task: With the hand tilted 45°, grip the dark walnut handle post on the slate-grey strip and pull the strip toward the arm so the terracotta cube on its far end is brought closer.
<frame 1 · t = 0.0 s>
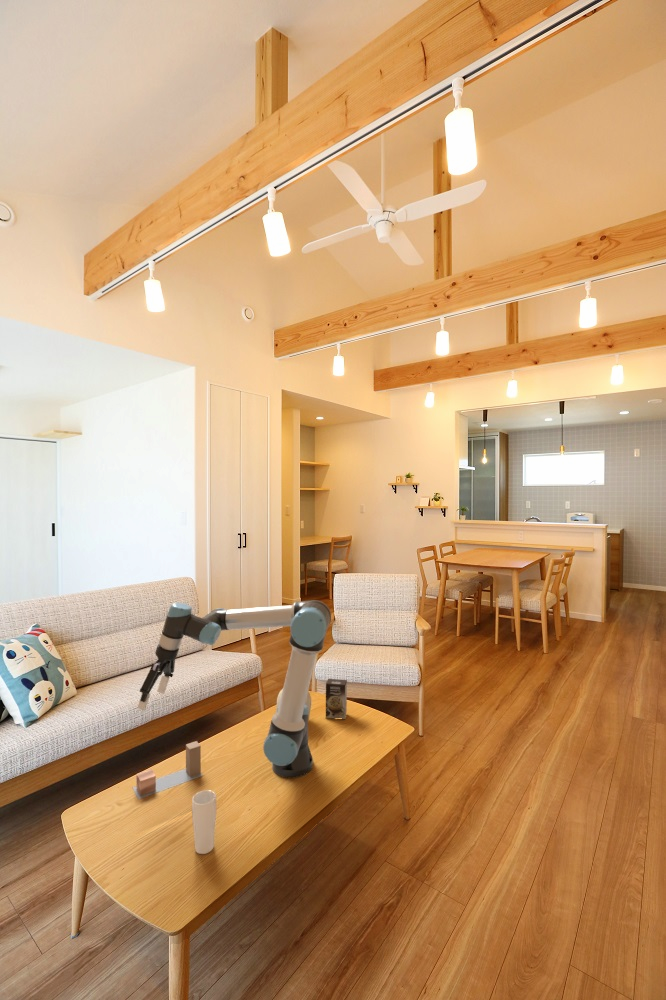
hand: (151, 700, 171), 28 cm above the table, tool tilted 20°, fingers open, 13 cm apart
coffee box: (336, 716, 217), on the table
strip: (168, 768, 167), point 6 cm above the table, slide at 0.0 cm, touching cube
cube: (146, 789, 163), point 1 cm above the table, touching strip
jug: (294, 723, 211), on the table
drinking glass: (204, 849, 137), on the table
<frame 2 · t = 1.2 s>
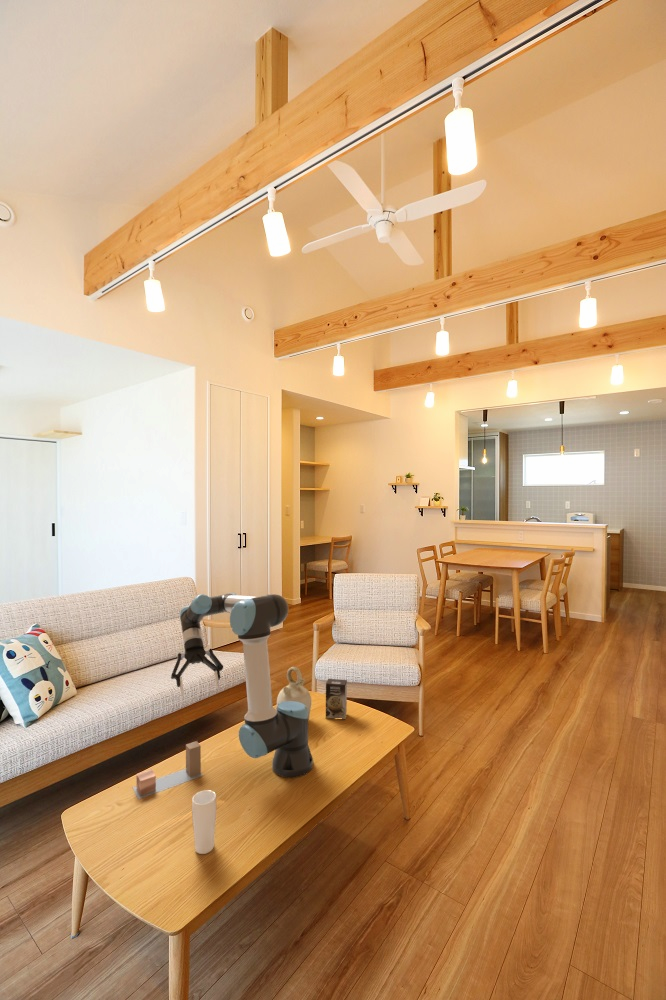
hand: (200, 691, 185), 25 cm above the table, tool tilted 45°, fingers open, 13 cm apart
nothing on the table moved.
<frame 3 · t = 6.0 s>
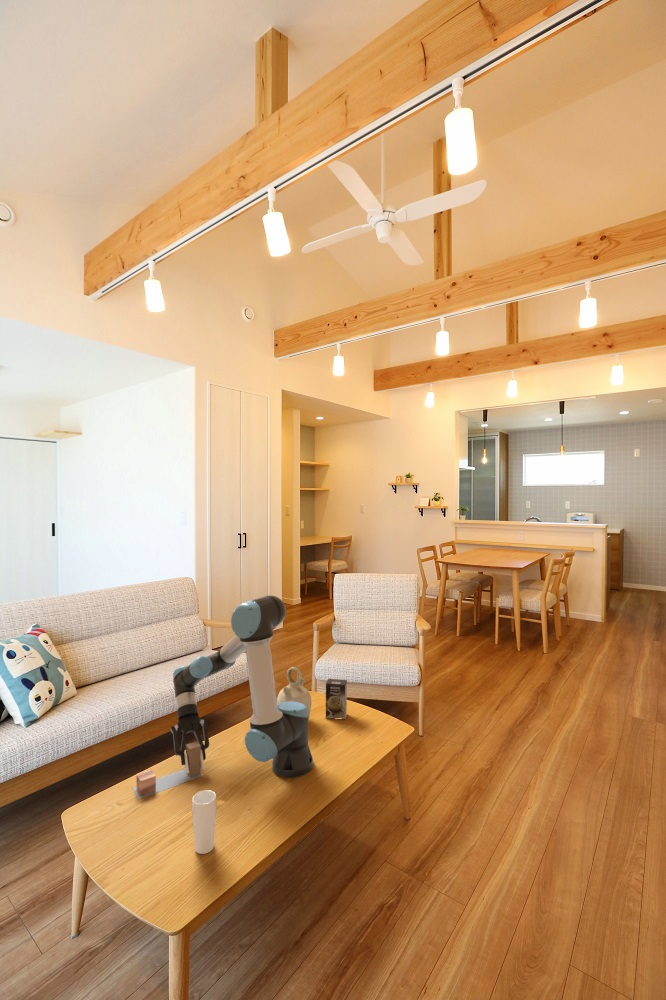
hand: (195, 771, 169), 3 cm above the table, tool tilted 45°, fingers closed on strip, 5 cm apart
strip: (168, 768, 167), point 6 cm above the table, slide at 0.0 cm, touching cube, gripper
everything else where it was.
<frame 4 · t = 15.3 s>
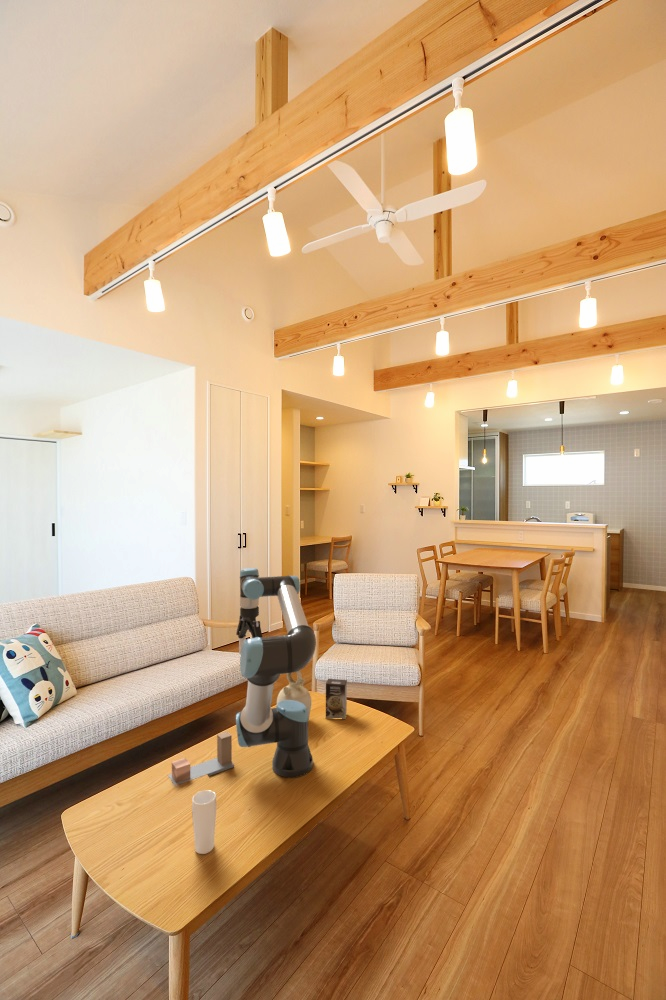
hand: (249, 658, 195), 35 cm above the table, tool pointing down, fingers open, 13 cm apart
strip: (201, 757, 174), point 6 cm above the table, slide at 12.0 cm, touching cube
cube: (181, 776, 170), point 1 cm above the table, touching strip
everything else where it was.
at the end: strip slide at 12.0 cm; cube inside the target area (0.2 cm from its centre), point 1.1 cm above the table; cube tilted 0° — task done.
